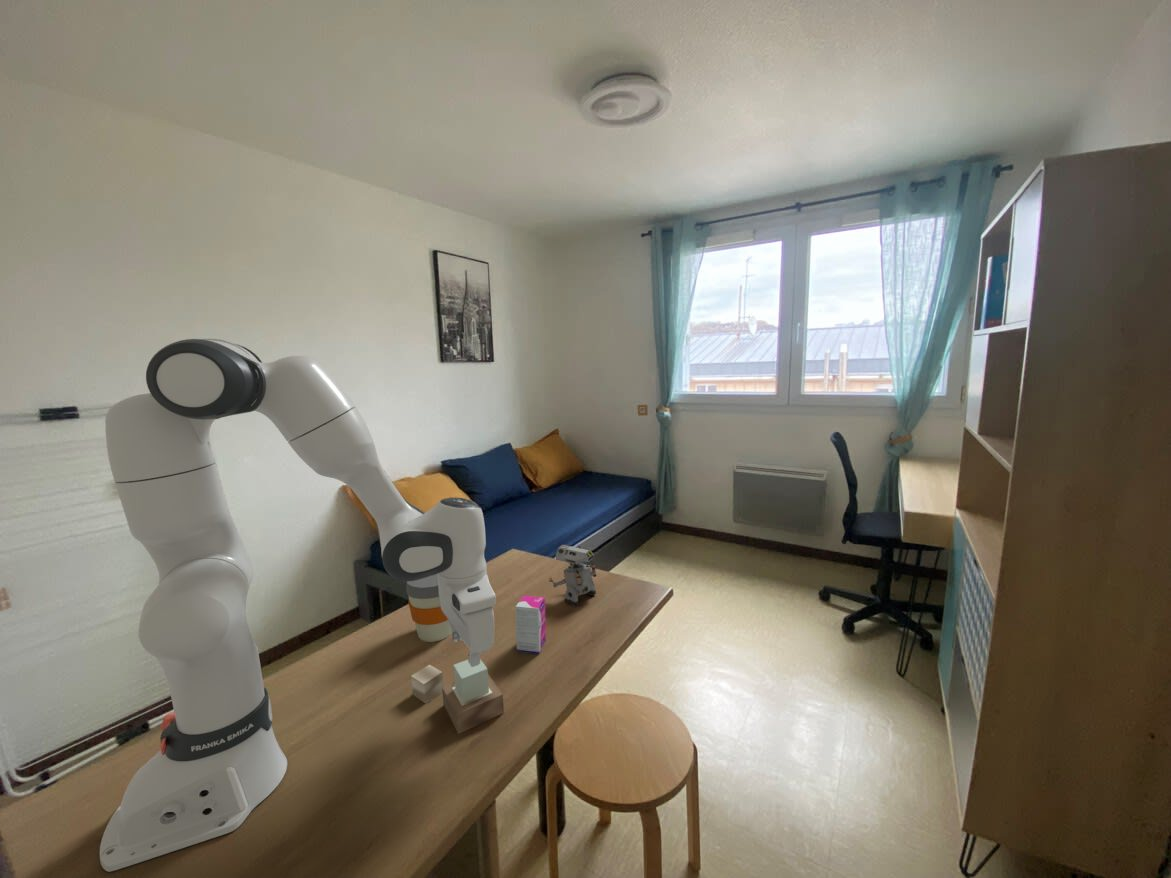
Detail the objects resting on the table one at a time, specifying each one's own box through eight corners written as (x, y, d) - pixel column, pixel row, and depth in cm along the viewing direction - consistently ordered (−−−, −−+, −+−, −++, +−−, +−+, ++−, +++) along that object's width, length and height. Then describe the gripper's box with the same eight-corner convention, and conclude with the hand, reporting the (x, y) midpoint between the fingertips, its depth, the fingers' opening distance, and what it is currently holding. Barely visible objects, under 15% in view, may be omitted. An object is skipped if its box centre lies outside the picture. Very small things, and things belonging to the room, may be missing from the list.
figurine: (570, 585, 142) (568, 538, 140) (600, 596, 135) (599, 547, 132) (549, 597, 135) (547, 548, 133) (579, 609, 128) (578, 558, 125)
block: (425, 703, 94) (423, 684, 93) (412, 695, 96) (410, 675, 96) (443, 691, 97) (442, 672, 96) (431, 683, 100) (429, 664, 99)
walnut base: (458, 733, 86) (456, 713, 85) (443, 705, 93) (442, 686, 92) (503, 712, 90) (502, 693, 90) (486, 687, 98) (485, 669, 97)
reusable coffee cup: (442, 649, 111) (437, 591, 109) (399, 641, 115) (393, 584, 113) (471, 622, 123) (467, 568, 121) (431, 615, 127) (427, 563, 125)
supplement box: (540, 654, 108) (538, 608, 107) (516, 652, 110) (513, 606, 108) (547, 640, 114) (545, 596, 112) (524, 637, 115) (521, 594, 113)
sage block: (463, 702, 88) (461, 678, 87) (455, 688, 92) (453, 664, 91) (489, 692, 90) (487, 668, 90) (479, 678, 94) (478, 655, 94)
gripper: (430, 567, 94) (433, 631, 96) (464, 610, 77) (467, 686, 79) (461, 560, 98) (463, 622, 100) (500, 600, 81) (502, 673, 83)
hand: (465, 651), depth 89 cm, fingers open, 8 cm apart
